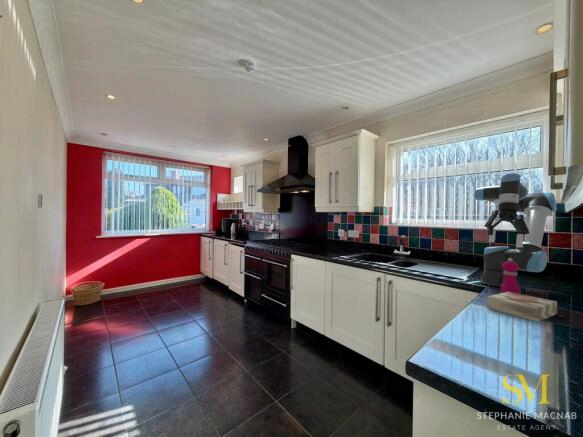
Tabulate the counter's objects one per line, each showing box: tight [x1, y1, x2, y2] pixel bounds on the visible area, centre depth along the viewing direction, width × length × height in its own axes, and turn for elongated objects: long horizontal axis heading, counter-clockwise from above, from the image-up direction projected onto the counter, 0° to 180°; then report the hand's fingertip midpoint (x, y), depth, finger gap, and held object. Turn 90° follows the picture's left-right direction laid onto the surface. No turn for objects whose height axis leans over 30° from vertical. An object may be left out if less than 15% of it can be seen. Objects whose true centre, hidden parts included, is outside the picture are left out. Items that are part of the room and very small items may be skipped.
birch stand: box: [486, 292, 558, 322], centre depth 101 cm, size 18×16×5 cm
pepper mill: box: [500, 258, 522, 294], centre depth 117 cm, size 7×7×20 cm
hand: (505, 244), depth 120 cm, fingers open, 13 cm apart
